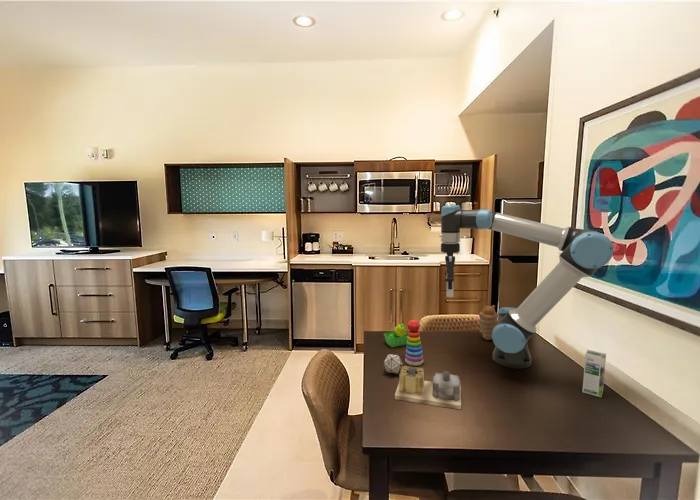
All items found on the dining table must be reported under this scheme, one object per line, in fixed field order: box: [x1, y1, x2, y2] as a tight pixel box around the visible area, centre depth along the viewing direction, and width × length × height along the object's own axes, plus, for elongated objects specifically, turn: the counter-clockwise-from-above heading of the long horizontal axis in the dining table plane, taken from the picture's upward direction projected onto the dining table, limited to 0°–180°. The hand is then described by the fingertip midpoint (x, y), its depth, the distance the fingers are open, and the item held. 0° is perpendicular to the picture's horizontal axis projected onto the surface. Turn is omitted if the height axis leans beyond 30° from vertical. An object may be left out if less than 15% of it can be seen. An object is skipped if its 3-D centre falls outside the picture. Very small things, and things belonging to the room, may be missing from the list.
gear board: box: [394, 366, 462, 410], centre depth 122 cm, size 22×13×9 cm, turn 72°
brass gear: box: [398, 365, 425, 395], centre depth 124 cm, size 8×8×6 cm
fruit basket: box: [383, 323, 409, 348], centre depth 166 cm, size 11×9×11 cm
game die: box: [381, 351, 405, 377], centre depth 138 cm, size 9×8×10 cm
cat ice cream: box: [478, 303, 499, 341], centre depth 170 cm, size 9×8×18 cm
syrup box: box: [581, 349, 607, 398], centre depth 122 cm, size 6×6×14 cm
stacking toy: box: [404, 319, 425, 367], centre depth 146 cm, size 8×8×19 cm
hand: (449, 292), depth 145 cm, fingers open, 13 cm apart
